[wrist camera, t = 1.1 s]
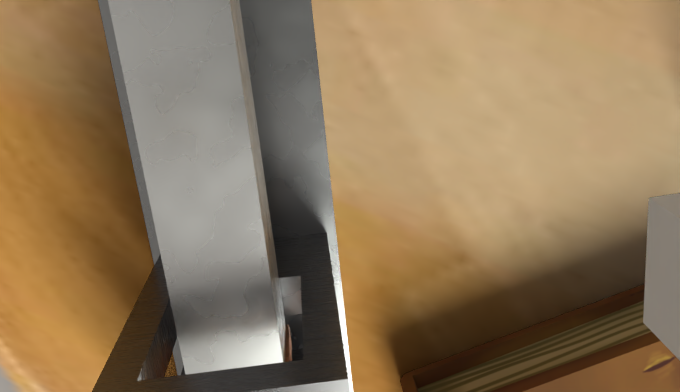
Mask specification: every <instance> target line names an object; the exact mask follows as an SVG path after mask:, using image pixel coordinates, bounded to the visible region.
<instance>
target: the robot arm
mask: <svg viewBox="0 0 680 392" xmlns="http://www.w3.org/2000/svg"><path fill="white" fill-rule="evenodd" d="M643 323H644V324H645V325H646V326H647V327H648V328H649V329H650V330H651V331H652V332H653V333H654V334H655V335H656V336H657V337H658V338H659V339H660V341H661V342H662V343H663V344H664V345H665V346H666V347H667V348H668V349H669V350H670V351H671V352H672V353H673V354H674V355H675V356H676V357H677V358H678V359H679V360H680V193H677V194H670V195H663V196H657V197H650V198H649V203H648V225H647V247H646V269H645V292H644V314H643Z"/></svg>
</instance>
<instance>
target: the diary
mask: <svg viewBox="0 0 680 392" xmlns="http://www.w3.org/2000/svg"><path fill="white" fill-rule="evenodd" d="M644 292H645V284H643V285H640V286H637V287H635V288H632V289H629V290H627V291H624V292H621V293H619V294H616V295H613V296H611V297H608V298H605V299H603V300H600V301H597V302H595V303H592V304H589V305H587V306H584V307H581V308H579V309H576V310H573V311H571V312H568V313H565V314H563V315H560V316H557V317H555V318H552V319H549V320H547V321H544V322H541V323H539V324H536V325H533V326H531V327H528V328H525V329H523V330H520V331H517V332H515V333H512V334H509V335H507V336H504V337H501V338H499V339H496V340H493V341H491V342H488V343H485V344H483V345H480V346H477V347H475V348H472V349H469V350H467V351H464V352H461V353H459V354H456V355H453V356H451V357H448V358H445V359H443V360H440V361H437V362H435V363H432V364H429V365H427V366H424V367H421V368H419V369H416V370H413V371H411V372H408V373H405V374H404V376H403V377H402V378H401V380H400V382H401V386H402V389H403V392H680V360H679V359H678V358H677V357H676V356H675V355H674V354H673V353H672V352H671V351H670V350H669V349H668V348H667V347H666V346H665V345H664V344H663V343H662V342H661V341H660V339H659V338H658V337H657V336H656V335H655V334H654V333H653V332H652V331H651V330H650V329H649V328H648V327H647V326H646V325H645V324H644V323H643V314H644Z"/></svg>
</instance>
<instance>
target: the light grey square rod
mask: <svg viewBox="0 0 680 392" xmlns="http://www.w3.org/2000/svg"><path fill="white" fill-rule="evenodd" d="M108 4H109V9H110V13H111V18H112V23H113V28H114V33H115V37H116V42H117V47H118V52H119V57H120V61H121V66H122V71H123V76H124V81H125V86H126V90H127V95H128V100H129V105H130V110H131V114H132V119H133V124H134V129H135V134H136V139H137V143H138V148H139V153H140V158H141V163H142V167H143V172H144V177H145V182H146V187H147V191H148V196H149V201H150V206H151V211H152V216H153V220H154V225H155V230H156V235H157V240H158V244H159V249H160V254H161V259H162V264H163V269H164V273H165V278H166V283H167V288H168V293H169V297H170V302H171V307H172V312H173V317H174V321H175V326H176V331H177V336H178V341H179V346H180V350H181V355H182V360H183V365H184V370H185V374H194V373H202V372H210V371H218V370H226V369H234V368H242V367H249V366H257V365H265V364H273V363H281V362H289V361H292V342H291V335H290V328H289V324H288V325H286V324H285V317H284V310H283V303H282V296H281V289H280V282H279V275H278V268H277V261H276V254H275V247H274V240H273V233H272V226H271V219H270V212H269V205H268V198H267V191H266V184H265V177H264V170H263V163H262V156H261V149H260V142H259V135H258V128H257V121H256V114H255V107H254V100H253V93H252V86H251V79H250V72H249V65H248V59H247V52H246V45H245V38H244V31H243V24H242V17H241V10H240V3H239V0H108Z"/></svg>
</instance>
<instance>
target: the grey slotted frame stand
mask: <svg viewBox="0 0 680 392" xmlns="http://www.w3.org/2000/svg"><path fill="white" fill-rule="evenodd" d="M98 3H99V8H100V12H101V17H102V22H103V26H104V31H105V36H106V40H107V45H108V50H109V55H110V59H111V64H112V69H113V73H114V78H115V83H116V88H117V92H118V97H119V102H120V106H121V111H122V116H123V120H124V125H125V130H126V135H127V139H128V144H129V149H130V153H131V158H132V163H133V168H134V172H135V177H136V182H137V186H138V191H139V196H140V200H141V205H142V210H143V215H144V219H145V224H146V229H147V233H148V238H149V243H150V248H151V252H152V257H153V262H154V267H153V269H152V271H151V273H150V275H149V277H148V279H147V281H146V283H145V285H144V287H143V289H142V291H141V293H140V295H139V297H138V300H137V302H136V304H135V306H134V308H133V310H132V312H131V314H130V316H129V318H128V320H127V322H126V324H125V326H124V328H123V330H122V332H121V334H120V336H119V338H118V340H117V342H116V344H115V346H114V348H113V350H112V352H111V354H110V356H109V358H108V360H107V362H106V364H105V366H104V368H103V370H102V372H101V374H100V376H99V378H98V380H97V382H96V384H95V386H94V388H93V390H92V392H353V386H352V376H351V367H350V358H349V348H348V339H347V330H346V321H345V311H344V302H343V293H342V283H341V274H340V265H339V256H338V246H337V237H336V228H335V218H334V209H333V200H332V190H331V181H330V172H329V163H328V153H327V144H326V135H325V125H324V116H323V107H322V98H321V88H320V79H319V70H318V60H317V51H316V42H315V32H314V23H313V14H312V5H311V0H239V3H240V10H241V17H242V24H243V31H244V38H245V45H246V52H247V59H248V65H249V72H250V79H251V86H252V93H253V100H254V107H255V114H256V121H257V128H258V135H259V142H260V149H261V156H262V163H263V170H264V177H265V184H266V191H267V198H268V205H269V212H270V219H271V226H272V233H273V240H274V247H275V254H276V261H277V268H278V275H279V282H280V289H281V296H282V303H283V310H284V317H285V324H286V325H288V324H289V328H290V335H291V342H292V361H289V362H281V363H273V364H265V365H257V366H249V367H242V368H234V369H226V370H218V371H210V372H202V373H194V374H185V370H184V365H183V360H182V355H181V350H180V346H179V341H178V336H177V331H176V326H175V321H174V317H173V312H172V307H171V302H170V297H169V293H168V288H167V283H166V278H165V273H164V269H163V264H162V259H161V254H160V249H159V244H158V240H157V235H156V230H155V225H154V220H153V216H152V211H151V206H150V201H149V196H148V191H147V187H146V182H145V177H144V172H143V167H142V163H141V158H140V153H139V148H138V143H137V139H136V134H135V129H134V124H133V119H132V114H131V110H130V105H129V100H128V95H127V90H126V86H125V81H124V76H123V71H122V66H121V61H120V57H119V52H118V47H117V42H116V37H115V33H114V28H113V23H112V18H111V13H110V9H109V4H108V0H98ZM172 351H173V356H174V360H175V365H176V370H177V375H178V376H171V377H164V376H165V373H166V370H167V367H168V364H169V361H170V357H171V354H172Z"/></svg>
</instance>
